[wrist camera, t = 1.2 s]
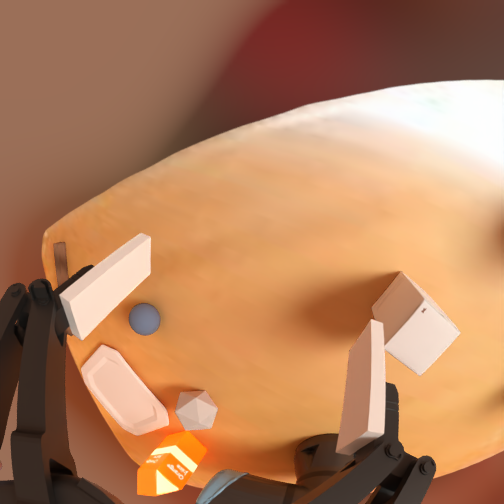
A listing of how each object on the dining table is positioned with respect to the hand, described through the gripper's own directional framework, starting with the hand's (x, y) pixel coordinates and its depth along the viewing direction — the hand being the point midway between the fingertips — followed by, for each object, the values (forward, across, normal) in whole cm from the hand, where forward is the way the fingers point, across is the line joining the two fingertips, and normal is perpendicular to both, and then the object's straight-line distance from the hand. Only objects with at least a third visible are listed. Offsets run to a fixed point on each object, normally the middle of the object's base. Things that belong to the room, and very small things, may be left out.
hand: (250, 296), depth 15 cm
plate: (+12, +26, +58) cm, 65 cm away
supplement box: (+23, -19, +11) cm, 32 cm away
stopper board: (+19, +48, +39) cm, 64 cm away
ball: (+17, +20, +30) cm, 39 cm away
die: (+14, +5, +44) cm, 47 cm away
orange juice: (+8, +6, +62) cm, 63 cm away
